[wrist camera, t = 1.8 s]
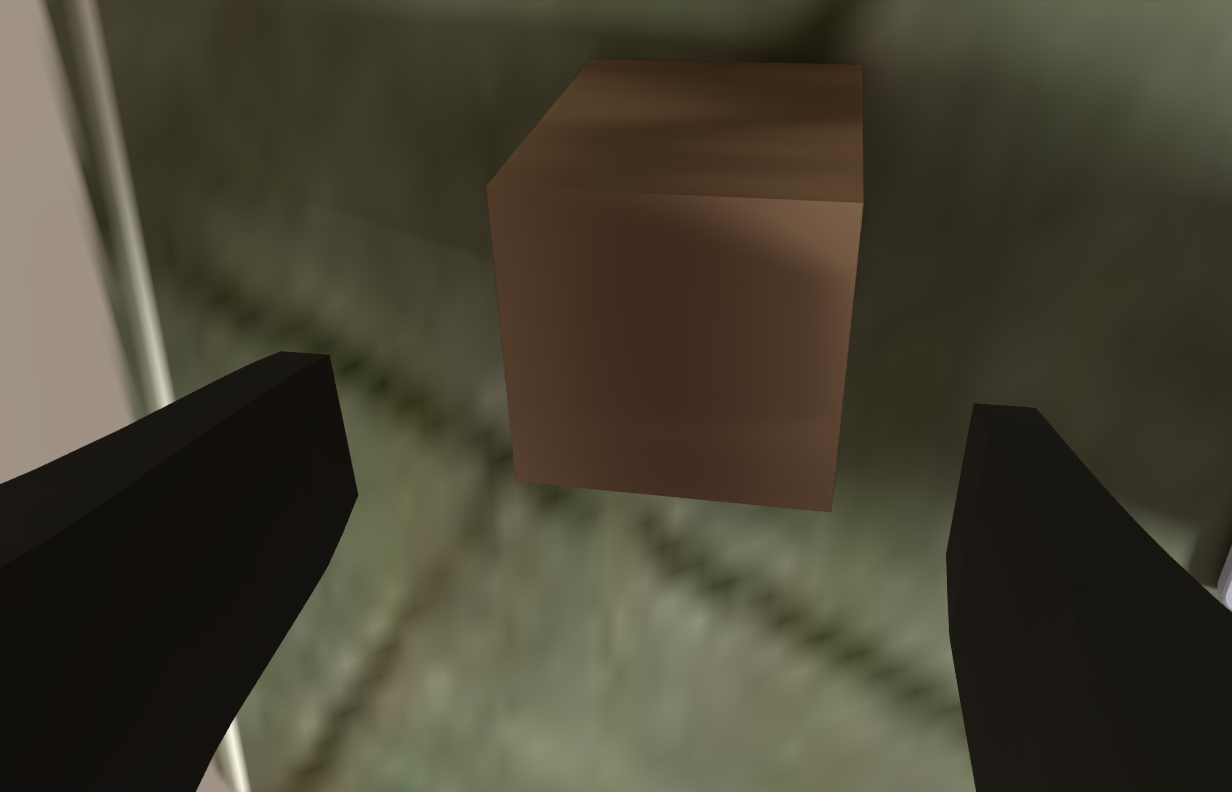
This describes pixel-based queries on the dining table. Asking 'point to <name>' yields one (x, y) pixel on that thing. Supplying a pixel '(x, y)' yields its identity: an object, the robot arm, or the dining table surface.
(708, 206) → the walnut block
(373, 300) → the dining table surface
